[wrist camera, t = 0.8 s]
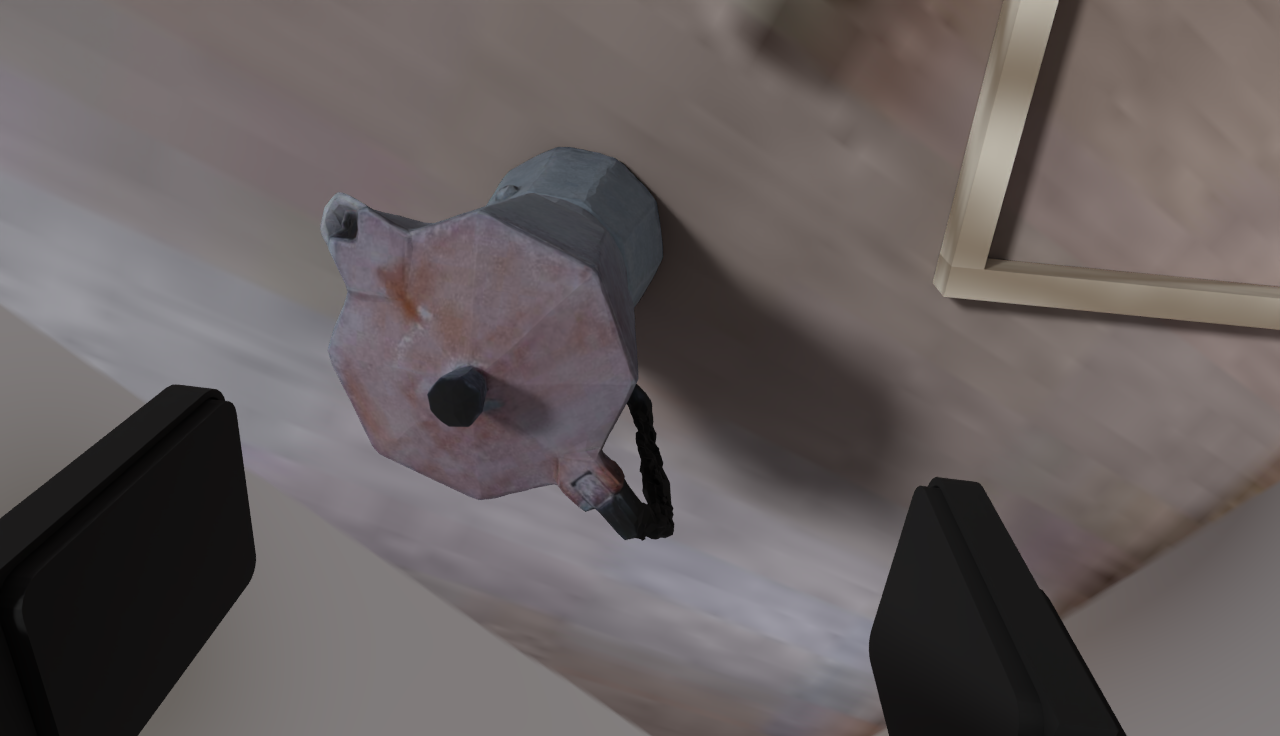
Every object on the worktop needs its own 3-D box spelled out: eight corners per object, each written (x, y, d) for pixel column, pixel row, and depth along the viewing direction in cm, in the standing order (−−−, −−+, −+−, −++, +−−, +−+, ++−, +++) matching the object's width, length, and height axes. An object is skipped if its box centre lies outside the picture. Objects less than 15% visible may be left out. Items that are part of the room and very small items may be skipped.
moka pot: (530, 48, 37) (370, 108, 19) (758, 280, 41) (809, 515, 23) (403, 195, 40) (162, 366, 22) (626, 397, 44) (578, 683, 26)
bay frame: (1050, -187, 32) (1071, -198, 30) (1595, -140, 31) (1651, -148, 29) (932, 282, 40) (943, 296, 38) (1361, 325, 40) (1393, 341, 38)
